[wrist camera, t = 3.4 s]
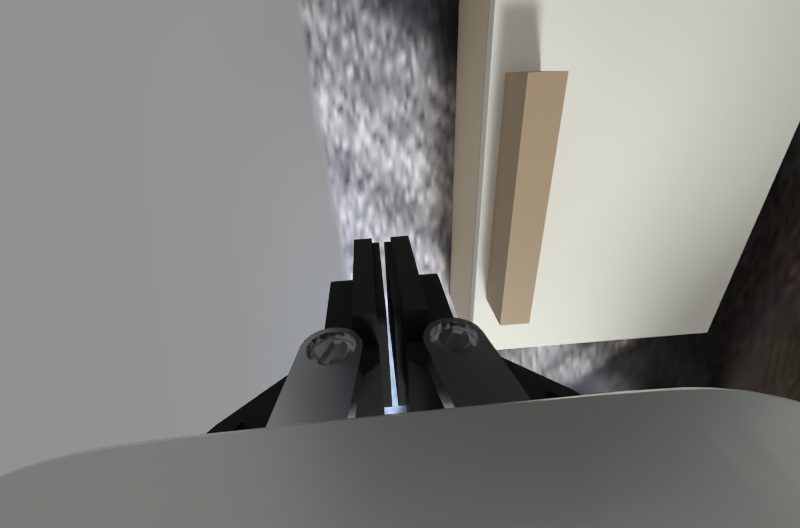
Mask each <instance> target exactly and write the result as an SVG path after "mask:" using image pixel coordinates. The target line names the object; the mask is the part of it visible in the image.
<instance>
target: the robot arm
mask: <svg viewBox="0 0 800 528" xmlns="http://www.w3.org/2000/svg"><path fill="white" fill-rule="evenodd" d="M384 248H385V264H386V281H387V297H388V314H389V325H390V334H391V343H392V352H393V361H394V370H395V379H396V388H397V396H398V405H399V406H402V405H406V407H407V413H397V414H387V415H385V414H384V407H392V396H391V381H390V365H389V349H388V334H387V319H386V307H385V297H384V288H383V278H382V269H381V259H380V249H379V243H372V238H371V239H357V240H354V261H353V280H348V281H335V282H331V286H330V293H329V301H328V308H327V316H326V323H325V329H324V330H320V331H318V332H316V333H314V334H312V335H310V336H309V337H308V338H307V339H306V340H304V342H303V344H302V345H301V346H300V349H299V351H298V353H297V356H296V358H295V360H294V362H293V365H292V367H291V369H290V372H289V374H288V375H287V376H286V377H284V378H283V379H282V380H280V381H278V382H277V383H276V384H274V385H273V386H271V387H270V388H268V389H267V390H266V391H264V392H263V393H261V394H260V395H258V396H257V397H256V398H254V399H253V400H251V401H250V402H248V403H247V404H246V405H244V406H243V407H241V408H240V409H239V410H237V411H236V412H234V413H233V414H231V415H230V416H229V417H227V418H226V419H224V420H223V421H222V422H220V423H219V424H217V425H216V426H215V427H213V428H212V429H211V430H210V431H209V432H208V433H206V434H200V435H191V436H182V437H174V438H173V437H172V438H164V439H157V440H150V441H143V442H136V443H128V444H121V445H114V446H107V447H100V448H95V449H91V450H85V451H81V452H76V453H71V454H66V455H62V456H59V457H55V458H52V459H48V460H45V461H41V462H38V463H35V464H31V465H28V466H25V467H22V468H20V469H17V470H14V471H11V472H9V473H6V474H4V475H1V476H0V528H800V402H799V401H795V400H791V399H787V398H783V397H779V396H773V395H768V394H763V393H757V392H752V391H746V390H735V389H724V388H713V387H679V388H664V389H648V390H633V391H621V392H611V393H600V394H590V395H580V394H579V393H577V392H575V391H574V390H572V389H570V388H567V387H565V386H563V385H561V384H559V383H557V382H554V381H552V380H550V379H548V378H546V377H544V376H541V375H539V374H537V373H535V372H533V371H530V370H528V369H526V368H524V367H522V366H520V365H517V364H515V363H513V362H511V361H509V360H507V359H504V358H502V357H501V356H500V355H499V353H498V352H497V351H496V349H495V348H494V346H493V345H492V343H491V342H490V341H489V339H488V338H487V336H486V335H485V333H484V332H483V331H482V330H481V329H480V328H479V327H478V326H477V325H476V324H474V323H472V322H471V321H468V320H465V319H461V318H453V315H452V313H451V310H450V307H449V304H448V302H447V299H446V296H445V293H444V291H443V288H442V285H441V283H440V280H439V277H438V275H437V274H425V275H419V273H418V270H417V266H416V263H415V259H414V255H413V252H412V248H411V245H410V241H409V237H408V236H400V237H391V242H384Z"/></svg>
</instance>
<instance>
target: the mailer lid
mask: <svg viewBox="0 0 800 528" xmlns="http://www.w3.org/2000/svg"><path fill="white" fill-rule="evenodd" d="M799 122H800V0H490V4H489V20H488V35H487V51H486V67H485V83H484V98H483V114H482V130H481V146H480V162H479V177H478V193H477V209H476V225H475V241H474V256H473V272H472V288H471V304H470V319H469V321H471V322H472V323H474V324H476V325H477V326H478V327H479V328H480V329H481V330H482V331H483V332H484V333H485V335H486V336H487V338H488V339H489V341H490V342H491V343H492V345H493V346H494V348H495V349H496V350H500V349H512V348H524V347H536V346H549V345H561V344H573V343H585V342H597V341H609V340H622V339H634V338H646V337H658V336H670V335H683V334H695V333H707V332H708V329H709V327H710V325H711V322H712V320H713V318H714V316H715V313H716V311H717V309H718V306H719V304H720V302H721V300H722V297H723V295H724V293H725V290H726V288H727V286H728V284H729V281H730V279H731V277H732V274H733V272H734V270H735V268H736V265H737V263H738V261H739V259H740V256H741V254H742V252H743V249H744V247H745V245H746V243H747V240H748V238H749V236H750V233H751V231H752V229H753V227H754V224H755V222H756V220H757V217H758V215H759V213H760V211H761V208H762V206H763V204H764V201H765V199H766V197H767V195H768V192H769V190H770V188H771V185H772V183H773V181H774V179H775V176H776V174H777V172H778V170H779V167H780V165H781V163H782V160H783V158H784V156H785V154H786V151H787V149H788V147H789V144H790V142H791V140H792V138H793V135H794V133H795V131H796V128H797V126H798V124H799Z"/></svg>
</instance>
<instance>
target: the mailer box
mask: <svg viewBox="0 0 800 528" xmlns="http://www.w3.org/2000/svg"><path fill="white" fill-rule="evenodd" d="M489 4H490V0H459V21H458V52H457V84H456V115H455V147H454V178H453V210H452V241H451V273H450V297H451V299H452V302H453V305H454V307H455V310H456V313H457V315H458V318H461V319H465V320H468V321H469V319H470V304H471V288H472V272H473V256H474V241H475V225H476V209H477V193H478V177H479V162H480V146H481V130H482V114H483V98H484V83H485V67H486V51H487V35H488V20H489Z"/></svg>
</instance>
